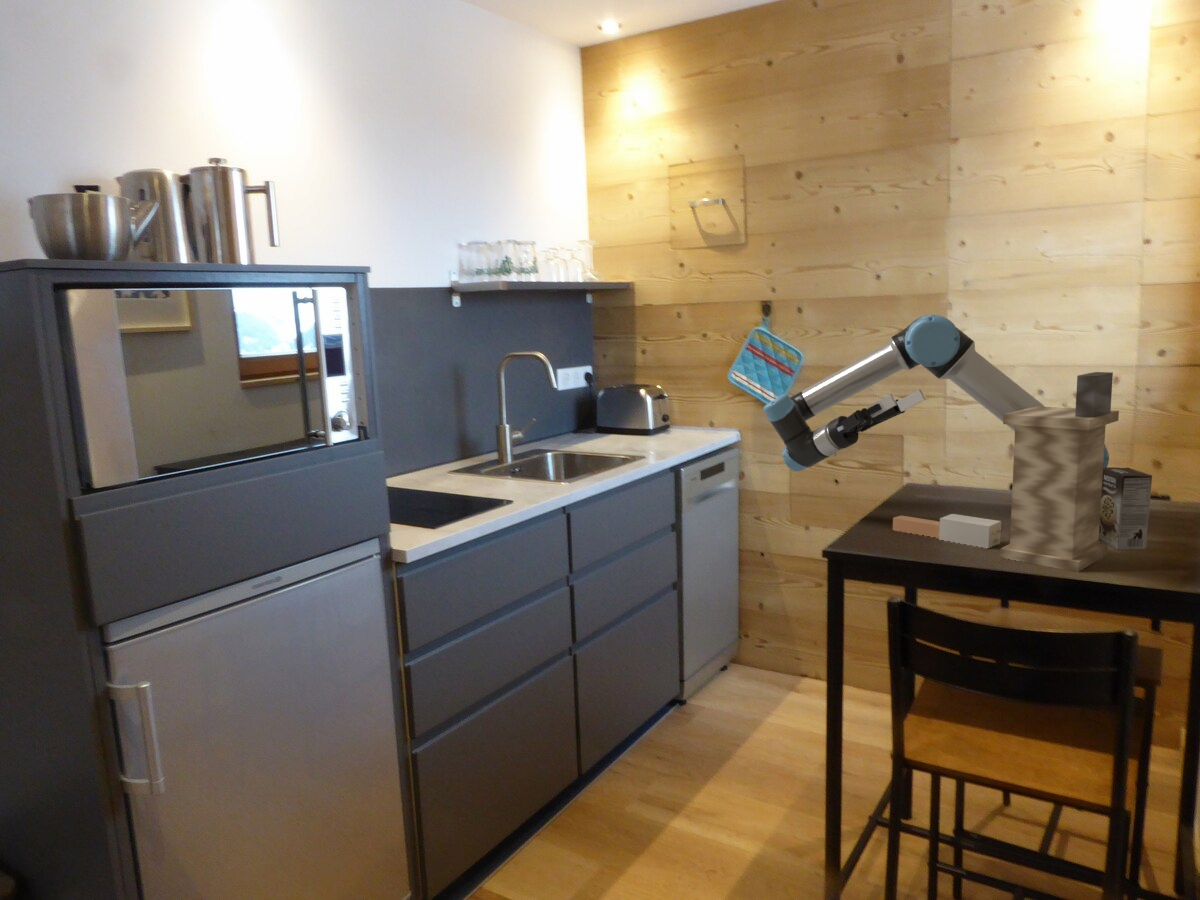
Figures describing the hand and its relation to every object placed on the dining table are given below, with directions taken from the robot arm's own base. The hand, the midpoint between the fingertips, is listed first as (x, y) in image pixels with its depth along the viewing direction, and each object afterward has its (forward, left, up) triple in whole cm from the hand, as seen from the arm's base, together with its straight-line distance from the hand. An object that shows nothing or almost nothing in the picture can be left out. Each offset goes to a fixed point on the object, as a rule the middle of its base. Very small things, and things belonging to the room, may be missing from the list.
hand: (908, 396), depth 201 cm
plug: (-7, +7, -32) cm, 33 cm away
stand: (-23, +23, -32) cm, 46 cm away
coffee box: (-41, +15, -32) cm, 54 cm away
